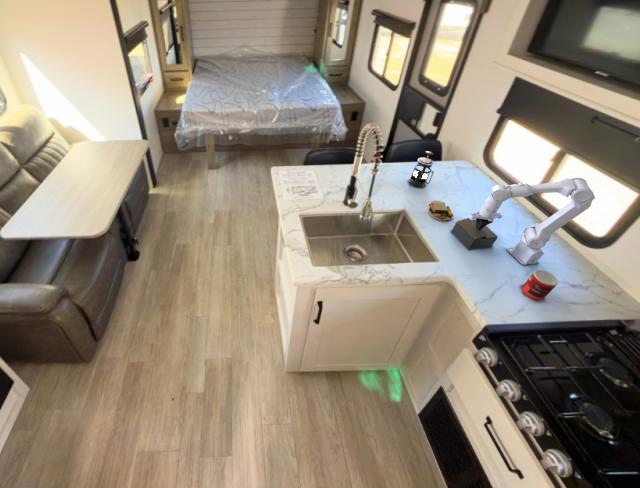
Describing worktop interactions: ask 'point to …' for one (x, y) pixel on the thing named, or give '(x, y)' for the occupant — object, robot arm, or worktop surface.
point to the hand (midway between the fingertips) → (478, 228)
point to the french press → (422, 172)
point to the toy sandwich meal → (440, 211)
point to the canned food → (539, 285)
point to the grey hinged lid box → (474, 243)
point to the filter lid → (471, 228)
